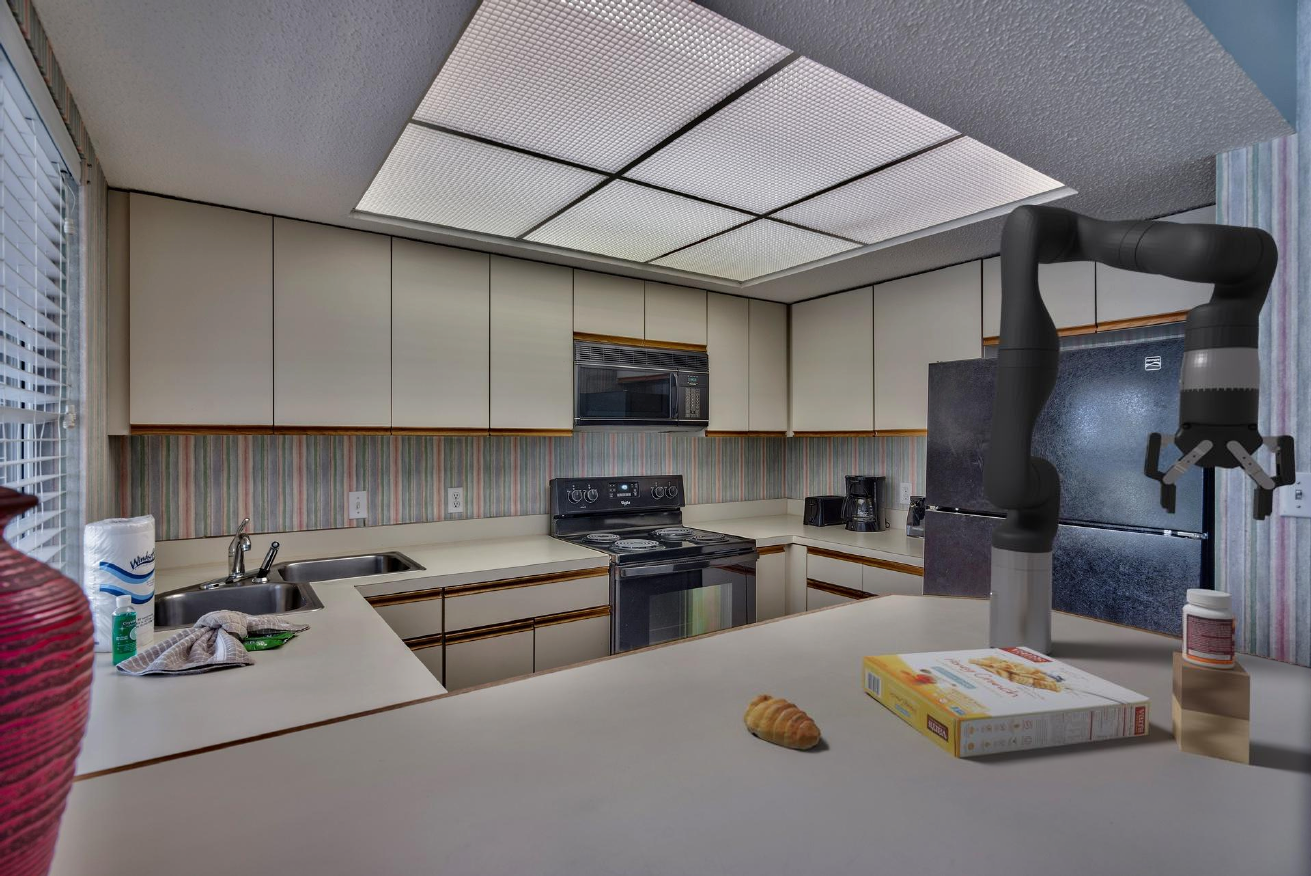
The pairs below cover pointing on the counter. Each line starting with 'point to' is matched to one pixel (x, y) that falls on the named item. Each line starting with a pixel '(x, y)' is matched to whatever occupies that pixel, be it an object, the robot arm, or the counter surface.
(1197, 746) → the maple block
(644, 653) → the counter surface
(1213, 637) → the pill bottle
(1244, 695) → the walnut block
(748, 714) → the pastry
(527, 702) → the counter surface
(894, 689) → the cereal box
